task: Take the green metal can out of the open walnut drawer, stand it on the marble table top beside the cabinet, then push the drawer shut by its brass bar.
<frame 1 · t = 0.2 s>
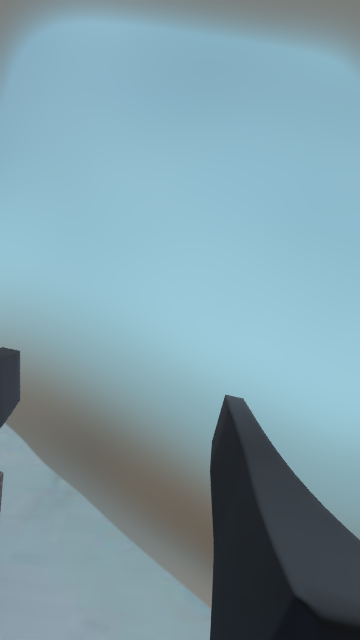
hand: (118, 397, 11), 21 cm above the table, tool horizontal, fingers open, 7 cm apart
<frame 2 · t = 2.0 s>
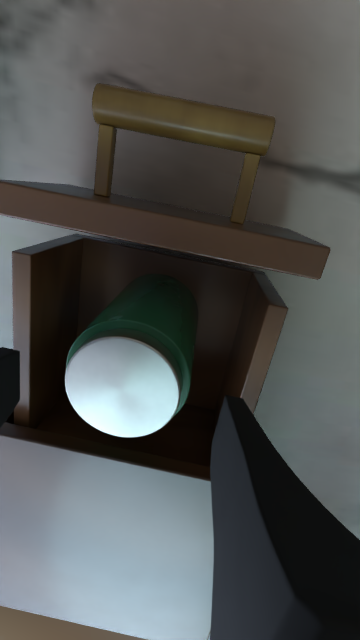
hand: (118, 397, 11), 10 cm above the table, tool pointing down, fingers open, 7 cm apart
can: (157, 313, 19), point 2 cm above the table, touching drawer
cabinet: (138, 440, 25), on the table
drawer: (155, 296, 16), point 4 cm above the table, slide at 9.5 cm, touching can
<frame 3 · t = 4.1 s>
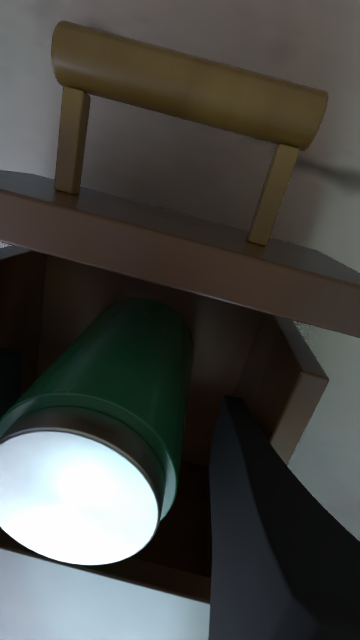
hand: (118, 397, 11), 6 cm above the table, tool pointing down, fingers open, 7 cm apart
can: (141, 347, 15), point 2 cm above the table, touching drawer
cabinet: (112, 487, 21), on the table
drawer: (138, 333, 12), point 4 cm above the table, slide at 9.5 cm, touching can, gripper
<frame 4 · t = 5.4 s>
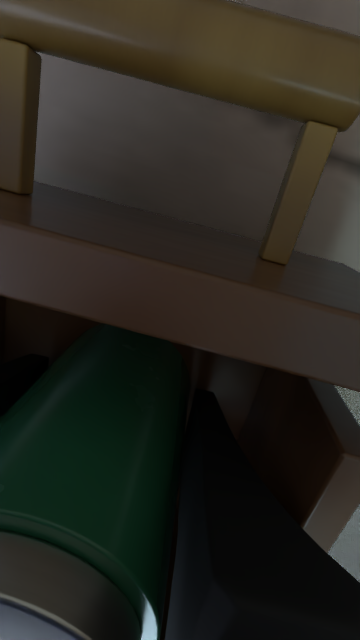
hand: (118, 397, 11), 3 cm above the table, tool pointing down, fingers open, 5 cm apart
can: (126, 381, 12), point 2 cm above the table, touching drawer
drawer: (117, 372, 9), point 4 cm above the table, slide at 9.5 cm, touching can
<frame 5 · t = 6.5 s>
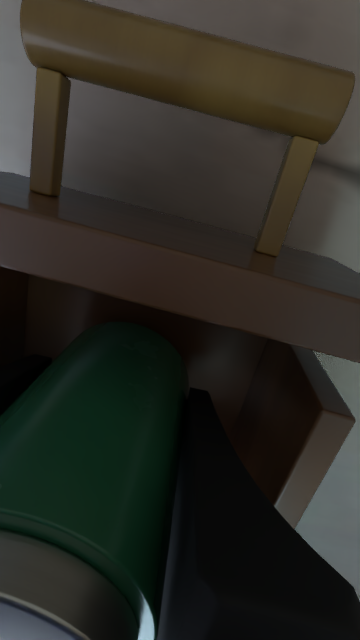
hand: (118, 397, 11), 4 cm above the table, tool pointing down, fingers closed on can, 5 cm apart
can: (125, 380, 12), point 3 cm above the table, touching gripper
drawer: (129, 353, 10), point 4 cm above the table, slide at 9.5 cm
when the fingers open (1 cm above the table, at t = 11.1 s): can stays where it is, on the table.
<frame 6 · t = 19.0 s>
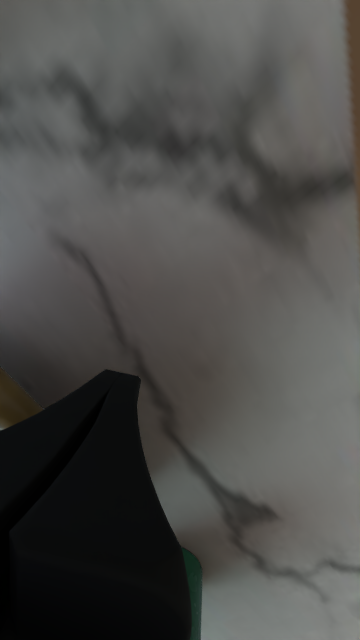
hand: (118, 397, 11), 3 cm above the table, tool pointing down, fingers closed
can: (162, 568, 19), on the table
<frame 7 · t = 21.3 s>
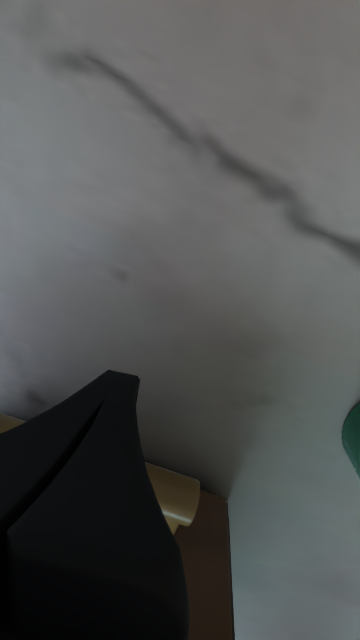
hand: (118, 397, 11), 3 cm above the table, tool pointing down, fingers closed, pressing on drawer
drawer: (56, 587, 14), point 4 cm above the table, slide at 0.0 cm, touching cabinet, gripper
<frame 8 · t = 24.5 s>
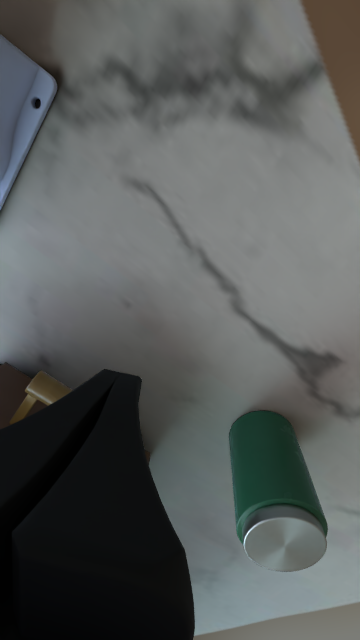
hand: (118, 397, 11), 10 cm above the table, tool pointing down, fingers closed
can: (261, 436, 24), on the table
drawer: (32, 480, 22), point 4 cm above the table, slide at 0.0 cm, touching cabinet
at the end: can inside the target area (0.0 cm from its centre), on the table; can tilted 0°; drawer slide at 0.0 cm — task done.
